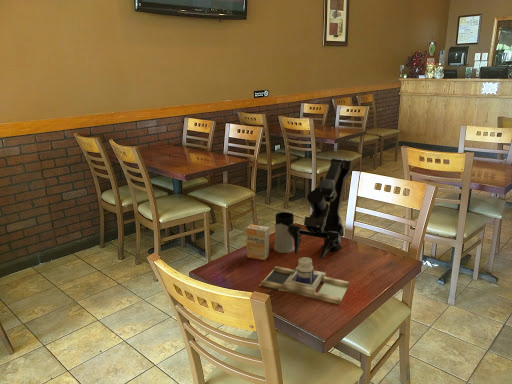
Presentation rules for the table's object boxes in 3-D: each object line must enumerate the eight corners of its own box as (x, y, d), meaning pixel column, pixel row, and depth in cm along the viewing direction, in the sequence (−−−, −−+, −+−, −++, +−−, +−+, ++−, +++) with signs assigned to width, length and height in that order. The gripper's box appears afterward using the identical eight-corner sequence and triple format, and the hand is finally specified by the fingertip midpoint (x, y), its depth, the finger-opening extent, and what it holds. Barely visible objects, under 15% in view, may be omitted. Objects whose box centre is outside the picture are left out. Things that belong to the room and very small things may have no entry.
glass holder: (270, 250, 167) (270, 217, 162) (282, 238, 179) (282, 206, 174) (290, 254, 163) (291, 220, 159) (301, 241, 176) (302, 209, 171)
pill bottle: (303, 279, 144) (304, 254, 141) (316, 285, 140) (317, 259, 137) (293, 285, 140) (293, 260, 137) (306, 291, 136) (306, 265, 133)
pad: (316, 296, 133) (316, 295, 133) (324, 282, 141) (324, 282, 141) (340, 301, 130) (340, 301, 130) (347, 287, 138) (347, 287, 138)
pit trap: (259, 286, 140) (259, 285, 140) (275, 268, 152) (275, 267, 152) (279, 291, 136) (279, 289, 136) (294, 272, 148) (294, 271, 148)
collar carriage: (287, 287, 138) (288, 280, 137) (297, 275, 145) (297, 269, 145) (313, 293, 134) (313, 286, 133) (321, 280, 141) (321, 274, 141)
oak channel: (261, 285, 140) (260, 277, 139) (275, 269, 151) (275, 262, 150) (339, 304, 128) (339, 296, 127) (348, 285, 139) (349, 277, 138)
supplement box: (246, 257, 161) (245, 227, 157) (250, 252, 165) (250, 223, 161) (265, 261, 158) (265, 230, 154) (269, 256, 162) (269, 226, 158)
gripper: (289, 203, 143) (277, 242, 137) (340, 210, 135) (330, 252, 129) (296, 216, 152) (285, 254, 146) (345, 224, 144) (335, 264, 138)
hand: (308, 256), depth 139 cm, fingers open, 9 cm apart
